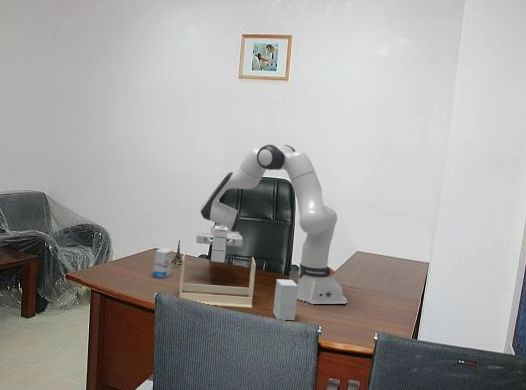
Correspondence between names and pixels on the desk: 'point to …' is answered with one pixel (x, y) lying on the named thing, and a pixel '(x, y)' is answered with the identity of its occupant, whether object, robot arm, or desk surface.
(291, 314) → the small box
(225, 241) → the syrup box
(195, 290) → the wooden rack
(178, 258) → the eiffel tower figurine
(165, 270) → the ink box
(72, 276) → the desk surface
